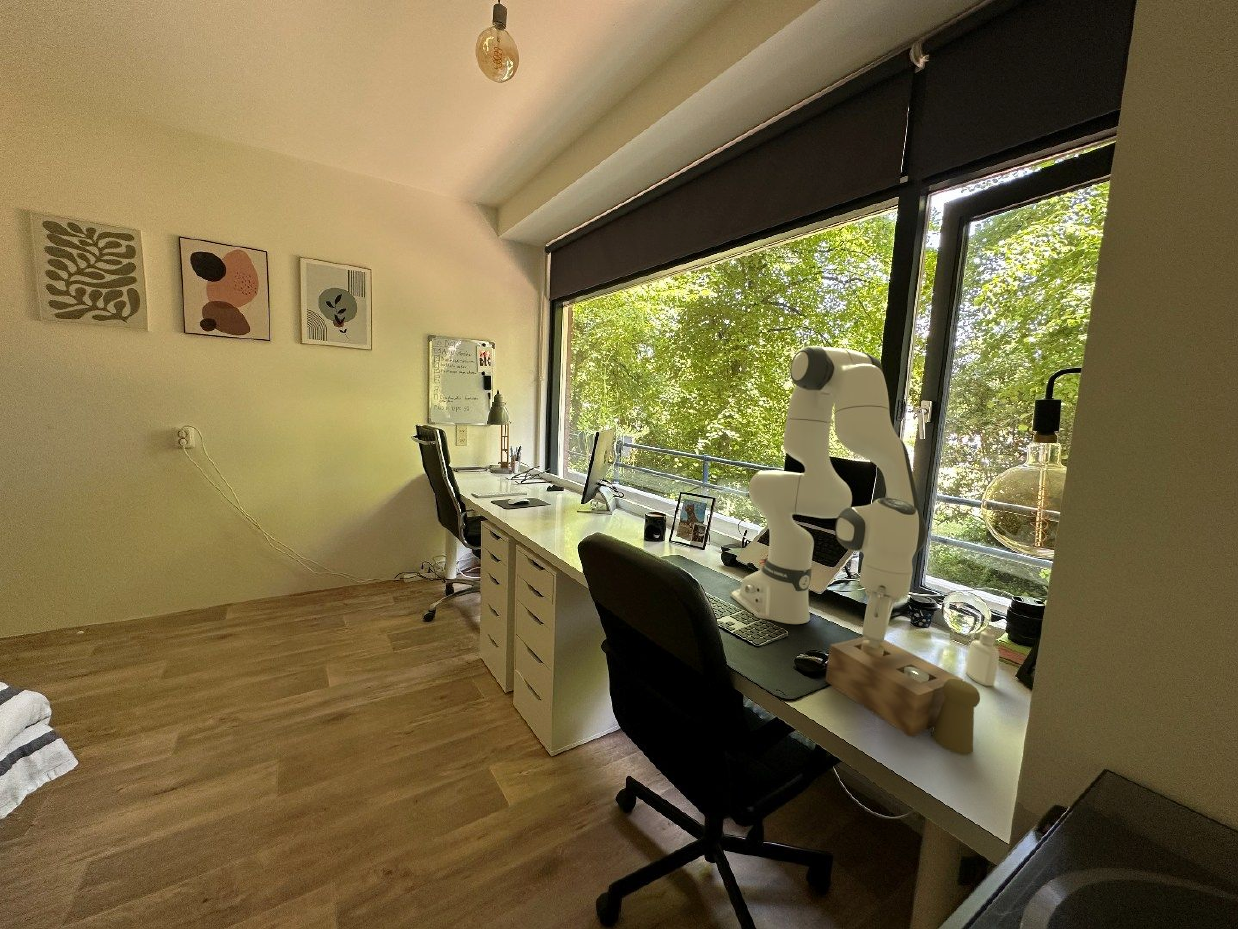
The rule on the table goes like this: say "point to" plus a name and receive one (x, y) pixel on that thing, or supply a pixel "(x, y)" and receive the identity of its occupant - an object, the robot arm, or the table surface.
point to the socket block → (888, 684)
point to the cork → (956, 717)
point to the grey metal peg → (916, 674)
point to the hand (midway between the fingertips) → (874, 645)
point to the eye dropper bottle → (983, 659)
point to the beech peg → (872, 649)
